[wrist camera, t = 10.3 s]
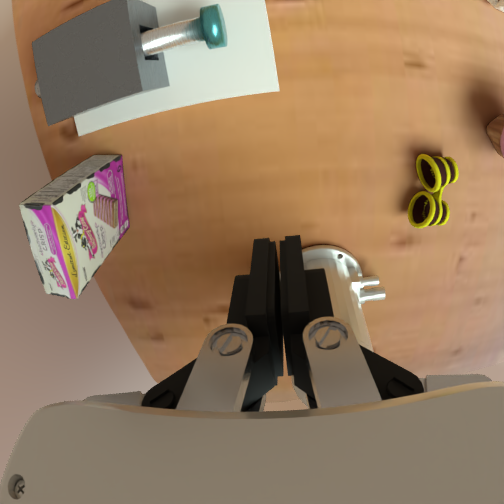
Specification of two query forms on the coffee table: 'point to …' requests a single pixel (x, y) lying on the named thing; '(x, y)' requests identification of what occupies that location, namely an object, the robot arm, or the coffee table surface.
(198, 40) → the steel shaft
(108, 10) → the shaft housing
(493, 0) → the white figurine
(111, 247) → the candy bar box
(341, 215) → the coffee table surface
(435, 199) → the opera glasses
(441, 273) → the coffee table surface
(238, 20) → the mounting board
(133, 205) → the coffee table surface
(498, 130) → the cupcake
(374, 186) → the coffee table surface
